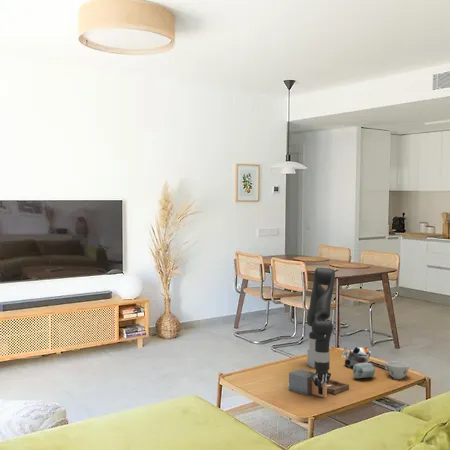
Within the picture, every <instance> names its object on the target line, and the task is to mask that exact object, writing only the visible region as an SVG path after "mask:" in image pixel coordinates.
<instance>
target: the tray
mask: <svg viewBox="0 0 450 450" xmlns="http://www.w3.org/2000/svg"><path fill="white" fill-rule="evenodd" d="M327 385H331V386H327V394H329V395H332V396H335V395H336V396H337V395H338V394H341V393H344V392H347V391H349V390H350V384H348V383H345V382H342V381H337V380H334V379H329V382H328V384H327Z"/></svg>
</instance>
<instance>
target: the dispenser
mask: <svg viewBox="0 0 450 450" xmlns="http://www.w3.org/2000/svg"><path fill="white" fill-rule="evenodd" d="M315 375H316V372H313V371H310V370H305V369H302V368H300V369H298V370H293V371H290V372H288V390H289V391H290V392H291V391H292V392H295V393H298V394H301V395H304V396H310V395H313V394H312V377H315Z"/></svg>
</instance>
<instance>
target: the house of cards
mask: <svg viewBox="0 0 450 450" xmlns="http://www.w3.org/2000/svg"><path fill="white" fill-rule="evenodd" d="M348 355H349V352H348V350H347V347H346V346H344V347H343V352H342V354H341V358H345V359H346V358H348Z"/></svg>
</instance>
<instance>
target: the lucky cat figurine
mask: <svg viewBox="0 0 450 450" xmlns="http://www.w3.org/2000/svg"><path fill="white" fill-rule="evenodd" d="M348 354H349V355H348V357H346V358H345V360H344V365H345V366H346V367H348V368H349V369H353V367H354V365H355V364H358V363H369V362H368V361H369V359H370V356H371V354H372V350H370V349H369V347H362V346H356V347H354V348H353V349H350V350H349V352H348Z"/></svg>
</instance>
